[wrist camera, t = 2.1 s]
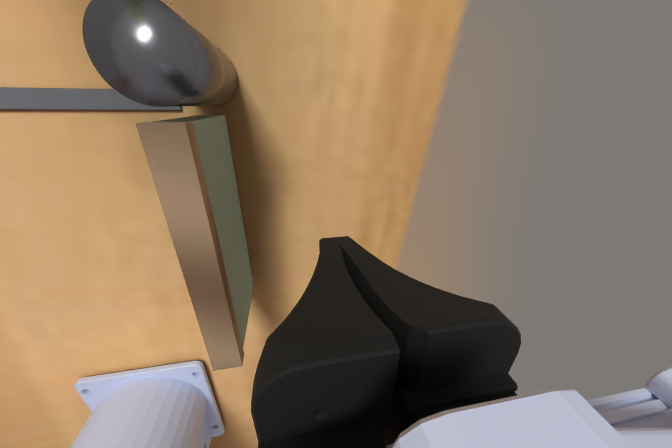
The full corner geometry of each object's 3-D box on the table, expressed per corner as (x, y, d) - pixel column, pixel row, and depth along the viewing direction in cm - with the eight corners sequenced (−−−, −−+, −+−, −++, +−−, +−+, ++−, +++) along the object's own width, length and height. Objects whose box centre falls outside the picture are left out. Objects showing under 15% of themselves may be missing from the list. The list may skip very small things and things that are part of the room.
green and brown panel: (199, 114, 12) (135, 123, 7) (227, 114, 12) (185, 123, 7) (235, 287, 16) (213, 370, 11) (255, 284, 16) (242, 366, 11)
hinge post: (240, 105, 12) (207, 107, 7) (187, 104, 12) (106, 106, 6) (232, 45, 11) (184, -9, 6) (173, 42, 11) (62, -18, 5)
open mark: (181, 109, 12) (180, 109, 12) (-90, 108, 10) (-93, 108, 10) (176, 90, 11) (176, 90, 11) (-104, 85, 10) (-108, 85, 10)
